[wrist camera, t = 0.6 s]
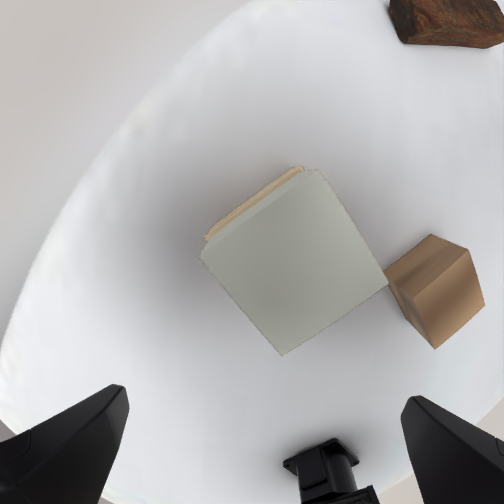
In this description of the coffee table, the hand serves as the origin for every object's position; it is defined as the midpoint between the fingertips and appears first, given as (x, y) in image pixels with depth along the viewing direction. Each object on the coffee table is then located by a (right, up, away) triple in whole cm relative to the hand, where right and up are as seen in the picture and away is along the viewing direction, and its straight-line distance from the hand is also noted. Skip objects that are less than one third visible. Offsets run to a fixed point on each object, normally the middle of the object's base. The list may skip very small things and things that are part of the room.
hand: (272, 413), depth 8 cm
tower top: (+1, +5, +8) cm, 10 cm away
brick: (+15, +23, +8) cm, 29 cm away
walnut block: (+12, +3, +13) cm, 18 cm away
